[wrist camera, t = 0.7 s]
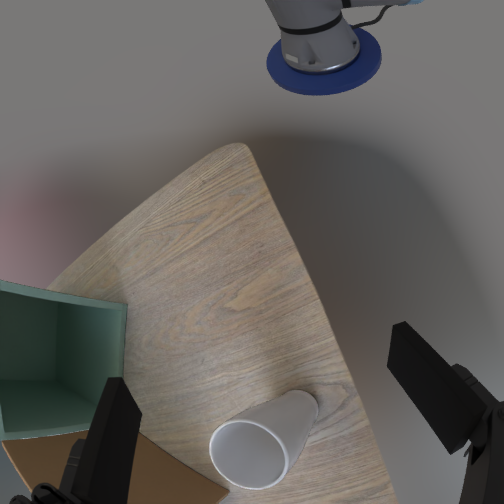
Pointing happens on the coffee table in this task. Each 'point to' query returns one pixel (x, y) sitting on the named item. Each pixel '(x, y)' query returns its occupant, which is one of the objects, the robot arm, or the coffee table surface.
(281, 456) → the drinking glass
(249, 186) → the coffee table surface
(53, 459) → the fridge door
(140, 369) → the coffee table surface
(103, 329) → the box
